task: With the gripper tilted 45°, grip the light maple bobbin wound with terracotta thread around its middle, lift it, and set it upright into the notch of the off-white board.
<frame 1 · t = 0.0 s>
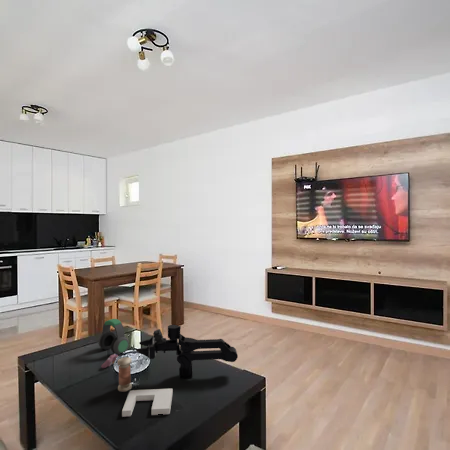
hand: (137, 346, 169), 17 cm above the table, tool horizontal, fingers open, 9 cm apart
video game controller: (110, 365, 184), on the table
notched board: (144, 405, 144), on the table
headphones: (113, 351, 202), on the table
bobbin: (124, 388, 159), on the table
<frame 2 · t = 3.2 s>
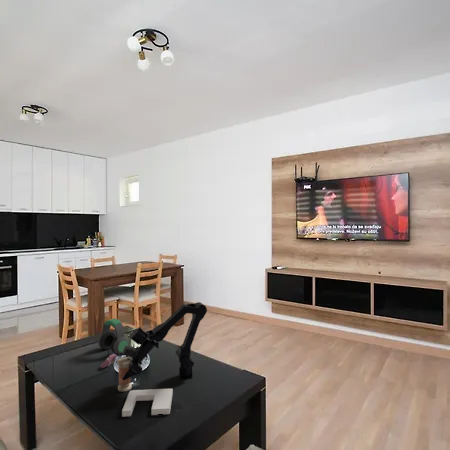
hand: (121, 375, 158), 7 cm above the table, tool tilted 45°, fingers open, 9 cm apart
bobbin: (124, 388, 159), on the table, touching gripper
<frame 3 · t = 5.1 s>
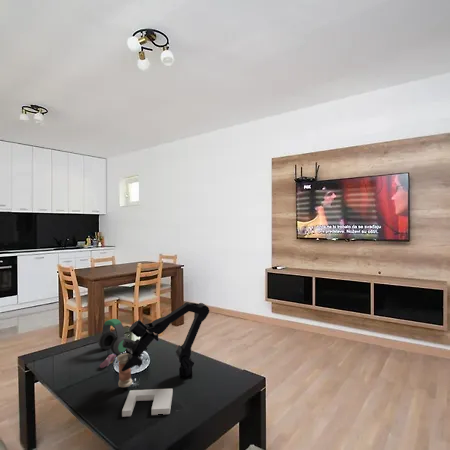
hand: (121, 368, 158), 10 cm above the table, tool tilted 45°, fingers closed on bobbin, 6 cm apart
bobbin: (125, 383, 159), point 2 cm above the table, touching gripper
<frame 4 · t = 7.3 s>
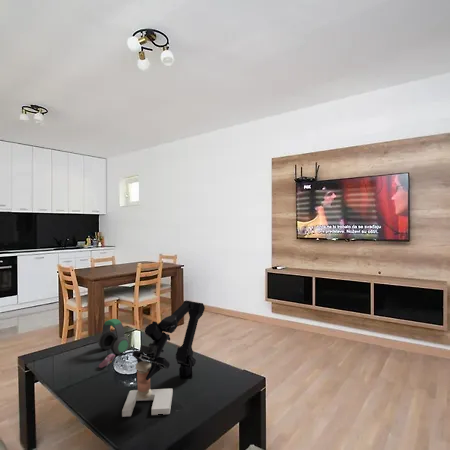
hand: (141, 378, 143), 13 cm above the table, tool tilted 45°, fingers closed on bobbin, 6 cm apart
bobbin: (144, 394, 144), point 5 cm above the table, touching gripper
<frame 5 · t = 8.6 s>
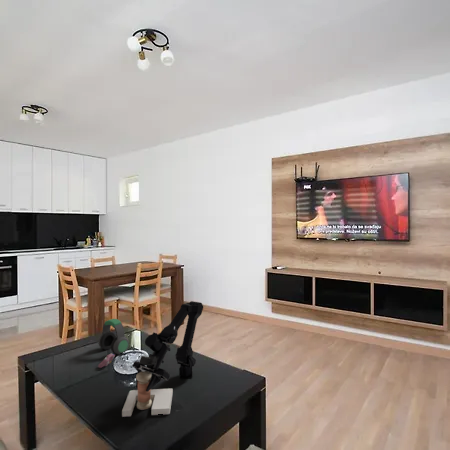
hand: (141, 389, 143), 8 cm above the table, tool tilted 45°, fingers closed on bobbin, 6 cm apart
bobbin: (144, 405, 144), resting in notched board, touching gripper
when the fingers open (8 cm above the table, at t = 9.3 s): bobbin stays where it is, resting in notched board.
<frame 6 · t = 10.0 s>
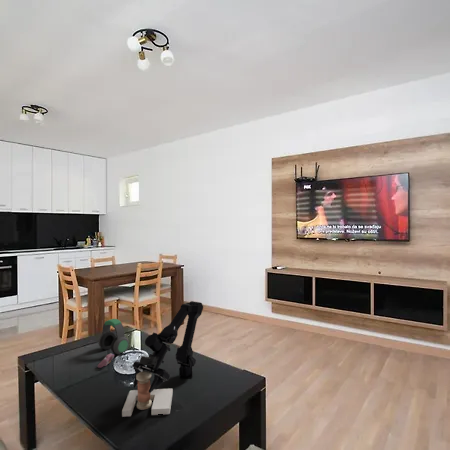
hand: (141, 389, 143), 8 cm above the table, tool tilted 45°, fingers open, 9 cm apart
bobbin: (144, 405, 144), resting in notched board
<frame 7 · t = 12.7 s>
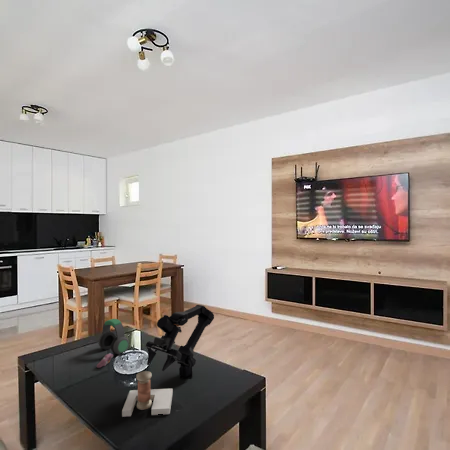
hand: (155, 368, 151), 13 cm above the table, tool tilted 40°, fingers open, 9 cm apart
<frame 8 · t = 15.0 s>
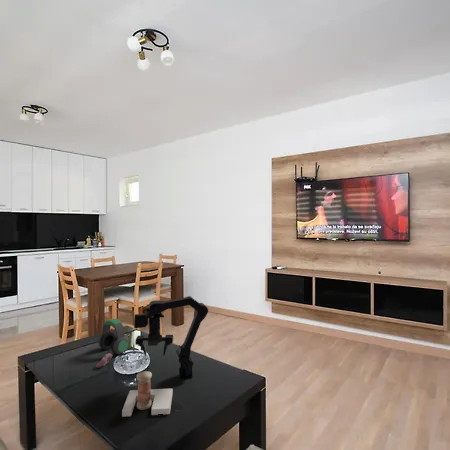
hand: (154, 355, 166), 13 cm above the table, tool pointing down, fingers open, 9 cm apart
at the end: bobbin 0.8 cm off-centre on the notched board, point 0.0 cm above the notched board's base; bobbin tilted 0°; the gripper is holding nothing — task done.
